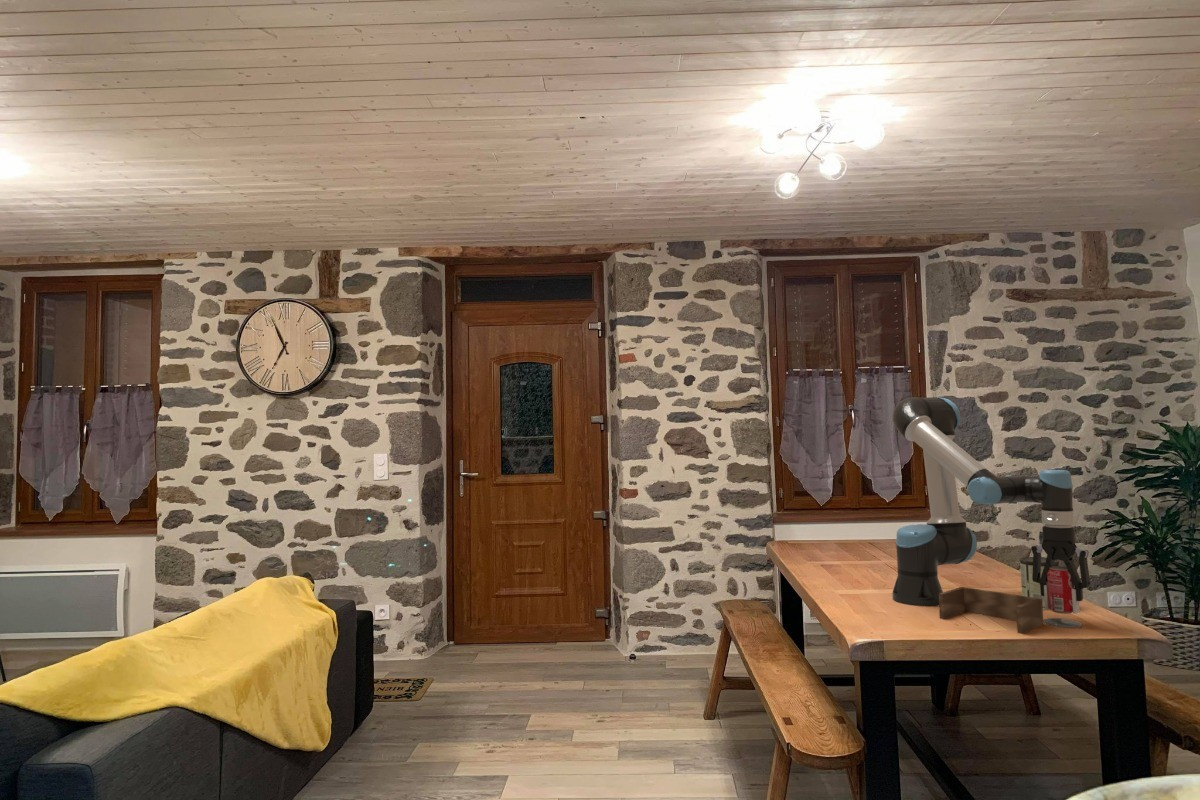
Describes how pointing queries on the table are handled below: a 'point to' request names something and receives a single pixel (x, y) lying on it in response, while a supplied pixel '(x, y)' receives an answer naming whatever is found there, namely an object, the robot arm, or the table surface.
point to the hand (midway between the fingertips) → (1062, 610)
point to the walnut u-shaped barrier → (993, 606)
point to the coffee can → (1027, 584)
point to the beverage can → (1060, 590)
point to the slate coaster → (1062, 623)
